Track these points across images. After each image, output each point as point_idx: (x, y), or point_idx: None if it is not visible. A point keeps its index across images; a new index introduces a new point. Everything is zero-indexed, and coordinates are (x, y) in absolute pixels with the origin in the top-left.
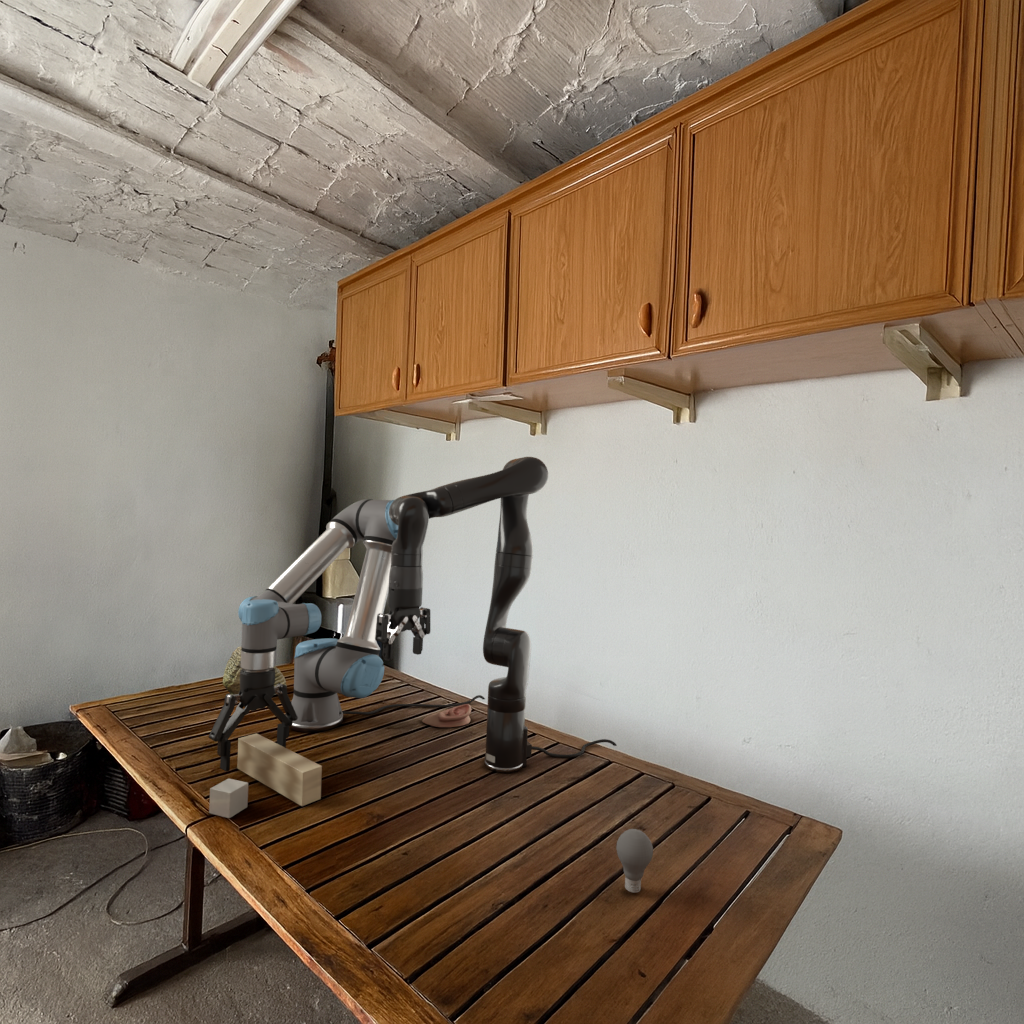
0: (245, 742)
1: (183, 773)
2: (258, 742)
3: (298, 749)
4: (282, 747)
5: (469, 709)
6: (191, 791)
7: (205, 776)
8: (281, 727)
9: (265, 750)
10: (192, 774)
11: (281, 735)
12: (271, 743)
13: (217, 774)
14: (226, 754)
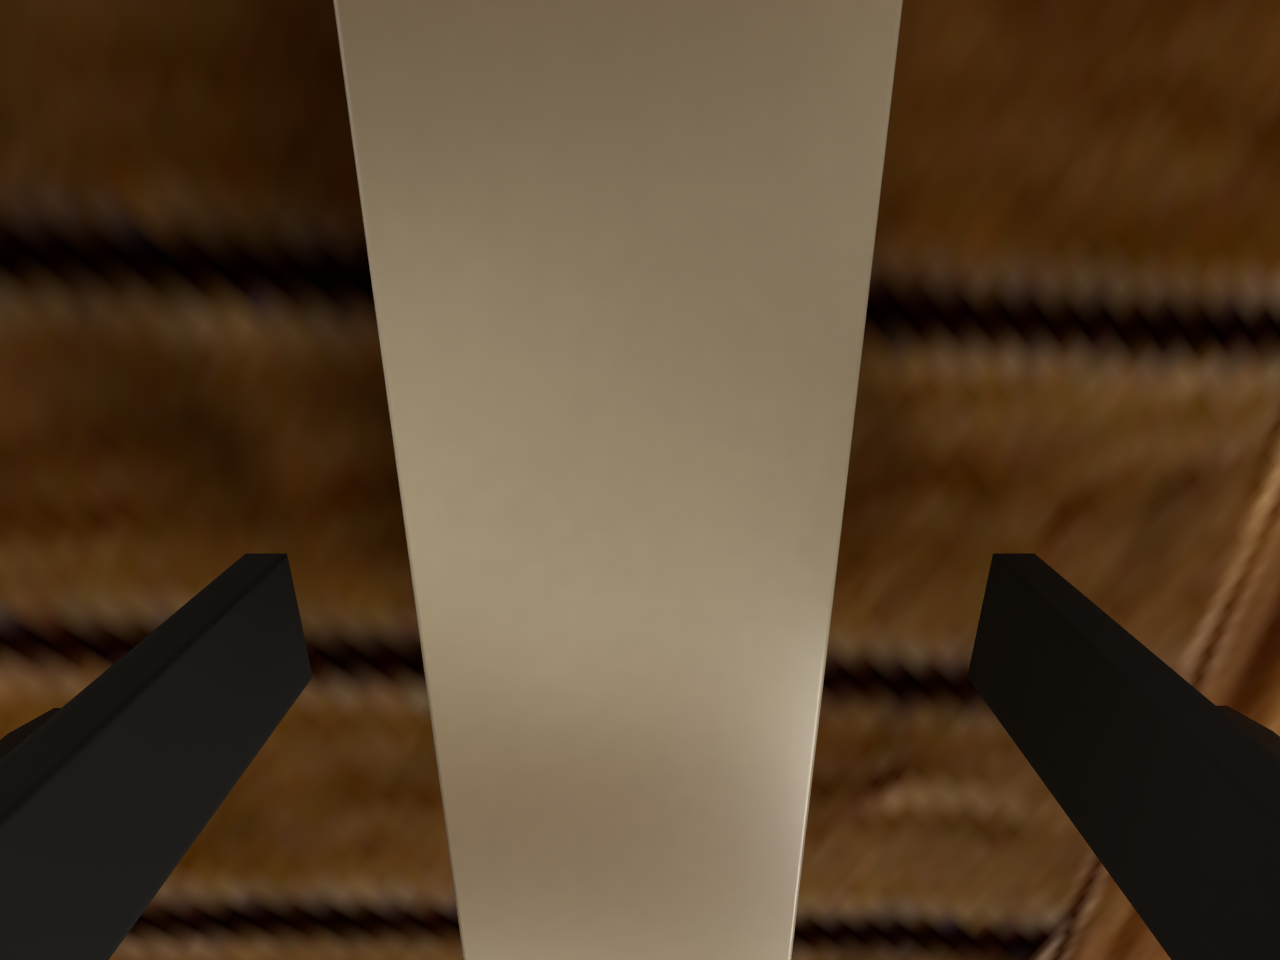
0: (804, 837)
1: (1057, 868)
2: (656, 700)
3: (56, 693)
4: (390, 62)
5: None
6: (1276, 543)
7: (996, 725)
8: (9, 915)
9: (807, 211)
10: (1031, 816)
11: (133, 765)
12: (485, 496)
13: (908, 696)
14: (1189, 696)
